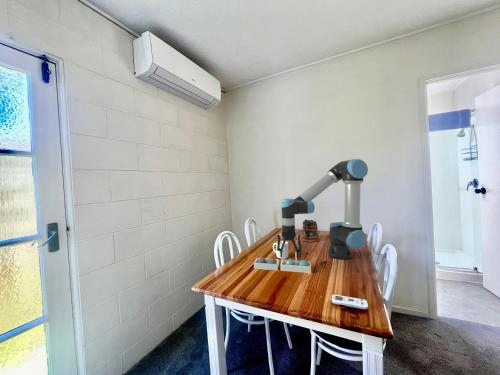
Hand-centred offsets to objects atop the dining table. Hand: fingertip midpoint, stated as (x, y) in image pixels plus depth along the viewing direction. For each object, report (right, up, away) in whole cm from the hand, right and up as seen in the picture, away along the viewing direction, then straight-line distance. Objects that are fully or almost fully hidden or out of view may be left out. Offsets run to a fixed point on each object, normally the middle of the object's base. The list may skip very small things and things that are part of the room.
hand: (289, 262), depth 122 cm
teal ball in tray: (+8, -3, -2) cm, 9 cm away
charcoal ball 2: (-10, -4, +3) cm, 11 cm away
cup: (-2, -4, +22) cm, 22 cm away
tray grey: (-13, -4, +4) cm, 15 cm away
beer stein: (+28, -2, +56) cm, 63 cm away
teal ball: (0, -3, 0) cm, 3 cm away
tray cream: (+4, -4, -1) cm, 5 cm away
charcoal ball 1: (-16, -4, +5) cm, 18 cm away
